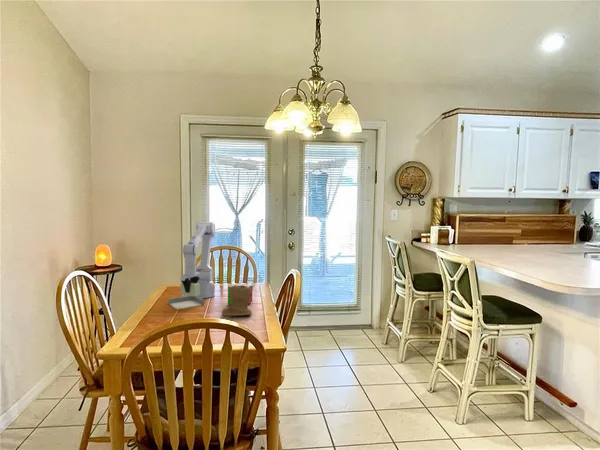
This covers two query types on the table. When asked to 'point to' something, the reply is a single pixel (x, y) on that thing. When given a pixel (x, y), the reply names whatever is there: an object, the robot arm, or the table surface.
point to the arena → (186, 302)
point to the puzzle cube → (240, 285)
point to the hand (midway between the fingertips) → (190, 291)
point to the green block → (191, 289)
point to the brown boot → (238, 301)
